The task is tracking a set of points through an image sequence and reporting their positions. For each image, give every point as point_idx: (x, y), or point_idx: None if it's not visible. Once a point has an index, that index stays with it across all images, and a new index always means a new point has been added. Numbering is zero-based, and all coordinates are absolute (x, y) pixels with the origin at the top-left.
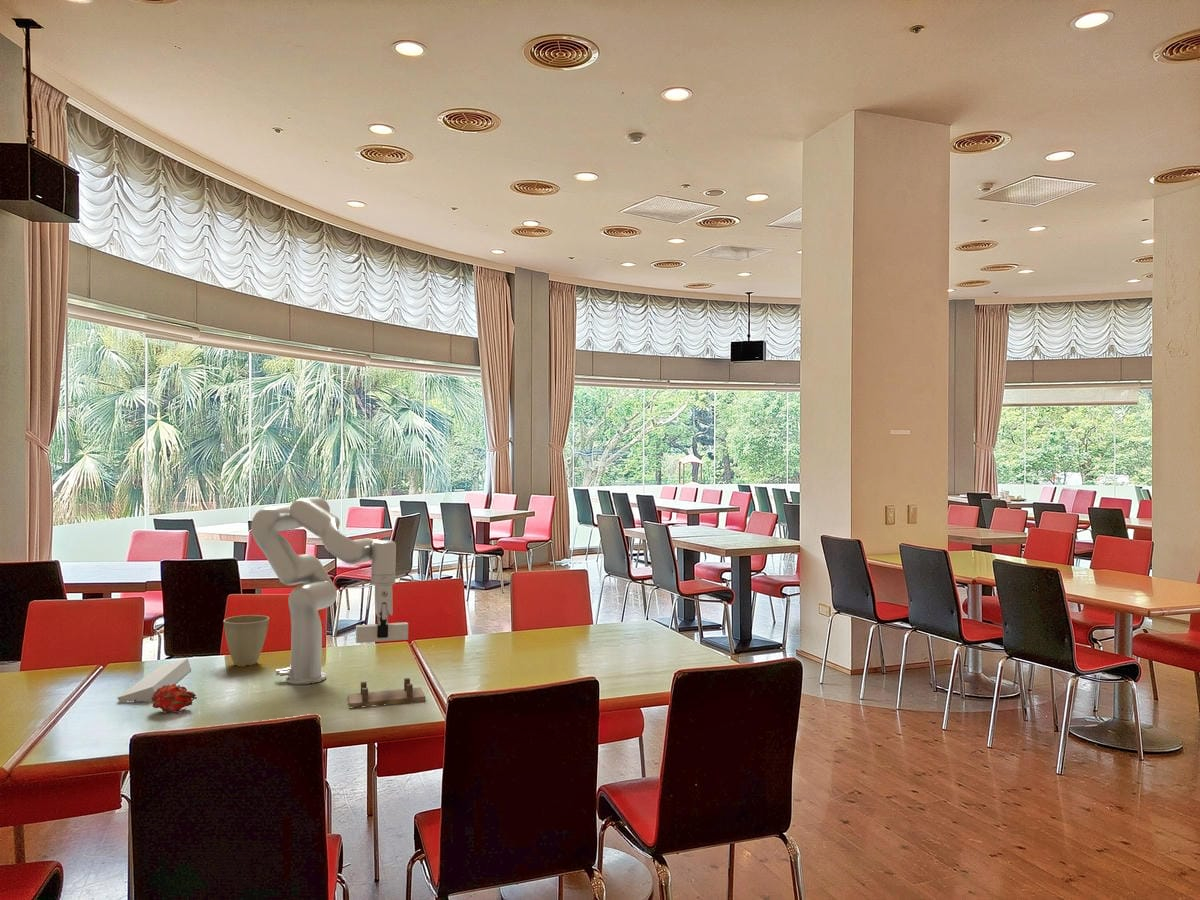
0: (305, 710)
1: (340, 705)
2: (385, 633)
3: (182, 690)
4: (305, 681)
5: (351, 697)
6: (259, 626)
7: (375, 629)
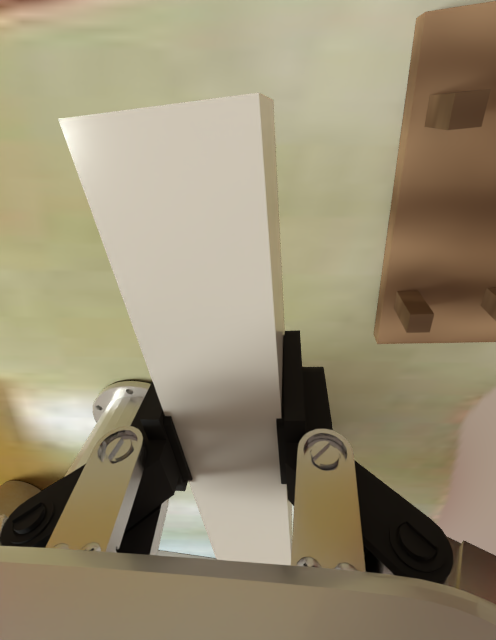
0: (432, 421)
1: (435, 352)
2: (323, 372)
3: None
4: None
5: (427, 335)
6: None
7: None
